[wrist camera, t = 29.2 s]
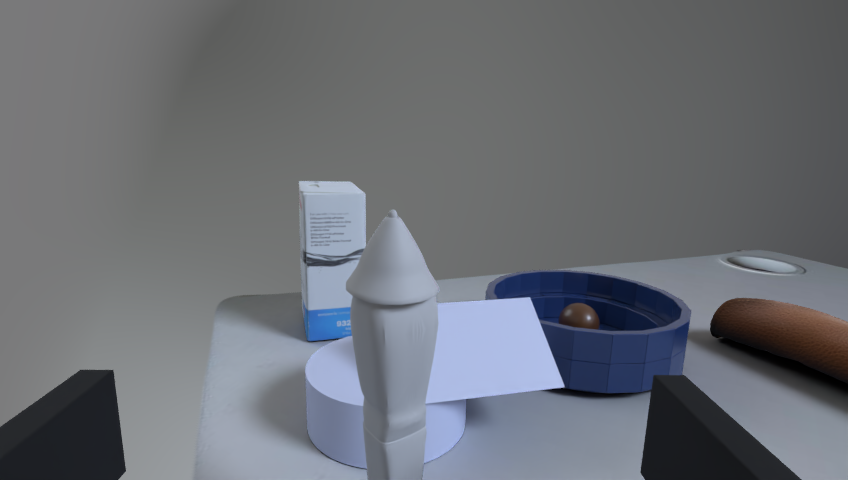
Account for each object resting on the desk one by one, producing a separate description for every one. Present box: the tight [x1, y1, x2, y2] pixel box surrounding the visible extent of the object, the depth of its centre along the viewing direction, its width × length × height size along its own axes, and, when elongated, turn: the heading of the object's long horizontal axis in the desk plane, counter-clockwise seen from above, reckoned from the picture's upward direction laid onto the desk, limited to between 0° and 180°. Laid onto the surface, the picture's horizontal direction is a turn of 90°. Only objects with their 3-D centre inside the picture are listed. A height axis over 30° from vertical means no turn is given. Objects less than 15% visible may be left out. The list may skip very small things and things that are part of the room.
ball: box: [559, 303, 599, 330], centre depth 37 cm, size 3×3×3 cm
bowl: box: [485, 270, 691, 393], centre depth 37 cm, size 14×14×4 cm
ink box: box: [299, 181, 366, 341], centre depth 41 cm, size 8×5×12 cm, turn 16°
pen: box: [346, 210, 440, 480], centre depth 15 cm, size 2×3×14 cm
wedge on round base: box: [305, 297, 565, 469], centre depth 28 cm, size 9×7×13 cm
